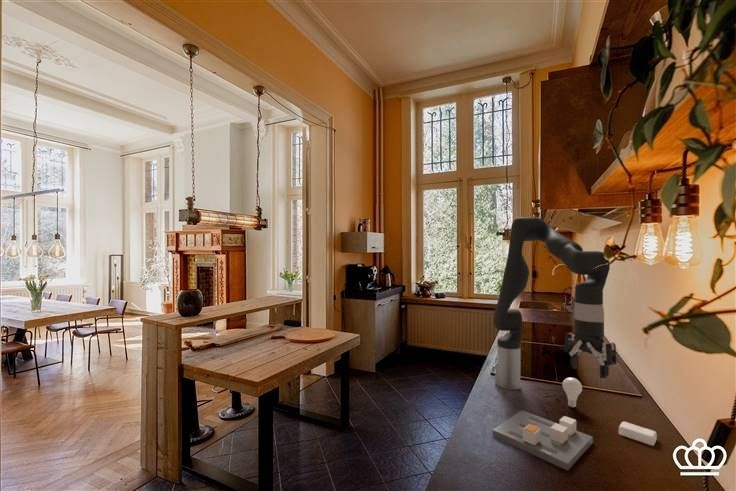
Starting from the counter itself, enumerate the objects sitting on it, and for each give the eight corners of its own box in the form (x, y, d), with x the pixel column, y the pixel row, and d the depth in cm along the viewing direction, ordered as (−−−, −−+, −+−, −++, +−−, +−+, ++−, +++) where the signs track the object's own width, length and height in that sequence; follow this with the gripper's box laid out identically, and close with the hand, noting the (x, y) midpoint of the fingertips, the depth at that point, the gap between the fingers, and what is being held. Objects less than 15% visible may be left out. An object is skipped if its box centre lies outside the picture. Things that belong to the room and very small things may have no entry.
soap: (618, 435, 111) (618, 425, 111) (622, 429, 115) (622, 420, 115) (653, 447, 105) (654, 437, 105) (657, 440, 108) (657, 431, 108)
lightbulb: (562, 408, 128) (562, 379, 128) (562, 401, 134) (562, 373, 134) (582, 412, 125) (582, 382, 125) (581, 405, 131) (581, 376, 131)
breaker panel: (492, 435, 110) (492, 417, 110) (522, 415, 123) (522, 399, 123) (567, 470, 93) (567, 449, 93) (592, 443, 106) (592, 424, 106)
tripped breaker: (522, 440, 104) (522, 427, 104) (529, 435, 106) (529, 423, 106) (534, 445, 101) (534, 432, 101) (540, 440, 104) (540, 427, 104)
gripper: (558, 314, 107) (558, 366, 107) (605, 324, 94) (605, 383, 94) (574, 313, 110) (574, 363, 110) (622, 321, 97) (622, 379, 97)
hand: (588, 372), depth 102 cm, fingers open, 8 cm apart
